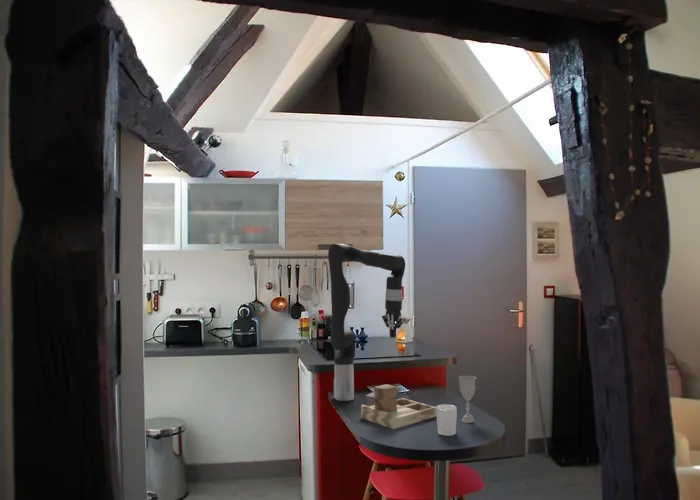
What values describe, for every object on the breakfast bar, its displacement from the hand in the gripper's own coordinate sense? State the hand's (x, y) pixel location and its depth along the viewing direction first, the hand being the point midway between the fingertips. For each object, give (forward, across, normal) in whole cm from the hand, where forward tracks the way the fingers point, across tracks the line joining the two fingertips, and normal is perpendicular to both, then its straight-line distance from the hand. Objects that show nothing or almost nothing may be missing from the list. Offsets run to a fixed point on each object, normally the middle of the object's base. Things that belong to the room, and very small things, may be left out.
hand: (392, 337), depth 240 cm
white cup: (+31, +39, -8) cm, 51 cm away
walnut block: (+28, +12, -15) cm, 34 cm away
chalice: (+30, +36, +10) cm, 48 cm away
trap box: (+32, +12, -8) cm, 35 cm away
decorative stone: (+33, -4, -5) cm, 33 cm away
